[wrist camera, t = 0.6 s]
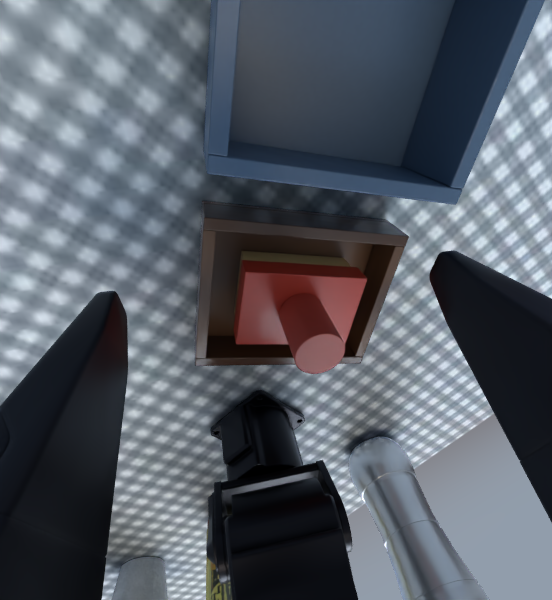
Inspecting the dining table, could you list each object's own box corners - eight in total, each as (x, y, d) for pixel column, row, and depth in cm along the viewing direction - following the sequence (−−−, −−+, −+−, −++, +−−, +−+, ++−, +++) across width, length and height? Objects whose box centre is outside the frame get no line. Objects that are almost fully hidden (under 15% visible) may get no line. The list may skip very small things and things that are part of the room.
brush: (347, 255, 24) (400, 315, 18) (329, 316, 27) (370, 387, 20) (238, 247, 22) (256, 312, 16) (230, 314, 25) (243, 392, 19)
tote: (402, 178, 22) (456, 205, 18) (203, 150, 19) (206, 174, 14) (482, -57, 17) (592, -108, 12) (219, -153, 13) (233, -273, 9)
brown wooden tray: (346, 339, 29) (360, 363, 26) (194, 338, 26) (195, 366, 23) (386, 219, 24) (409, 236, 21) (202, 200, 20) (203, 217, 18)
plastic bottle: (346, 472, 40) (452, 744, 24) (338, 439, 36) (459, 737, 20) (397, 454, 41) (538, 712, 24) (395, 420, 37) (561, 699, 20)
